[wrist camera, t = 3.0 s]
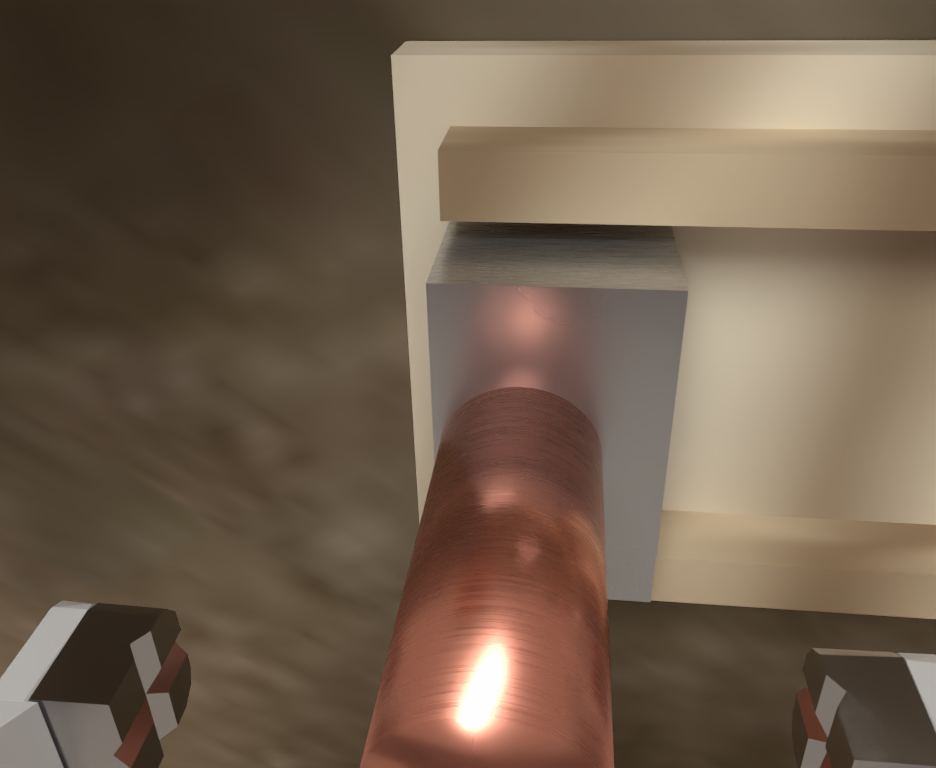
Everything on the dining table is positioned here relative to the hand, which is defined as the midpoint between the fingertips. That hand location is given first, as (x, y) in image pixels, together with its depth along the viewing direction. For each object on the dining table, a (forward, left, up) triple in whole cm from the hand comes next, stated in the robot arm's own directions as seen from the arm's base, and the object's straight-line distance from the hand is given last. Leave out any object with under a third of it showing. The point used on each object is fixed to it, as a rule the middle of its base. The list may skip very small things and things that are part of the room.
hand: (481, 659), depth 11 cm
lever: (-1, 0, -7) cm, 7 cm away
